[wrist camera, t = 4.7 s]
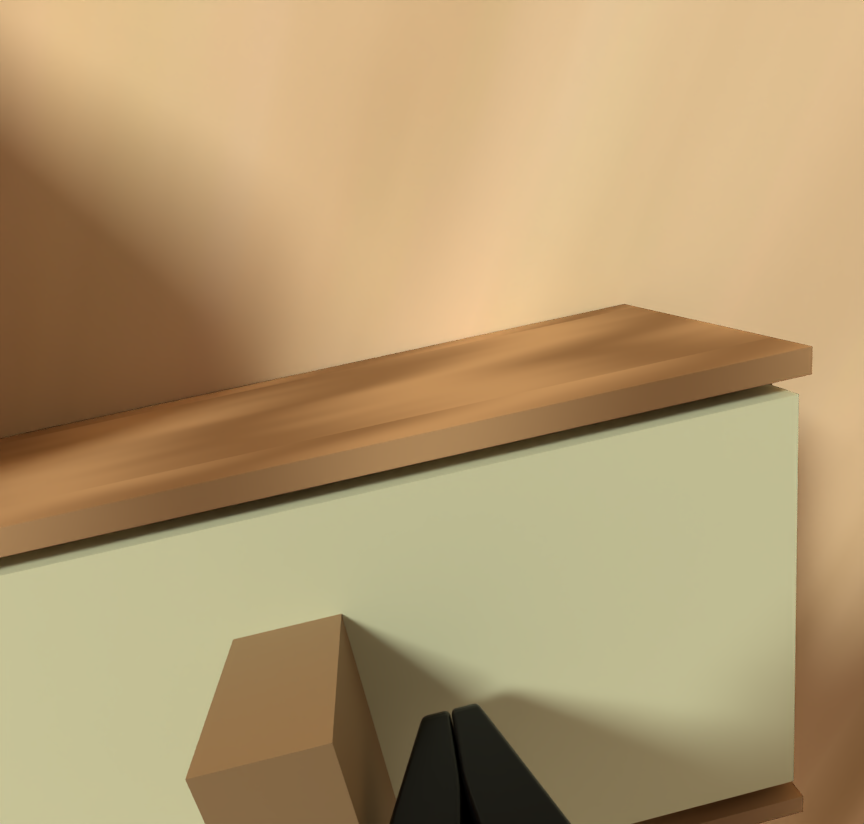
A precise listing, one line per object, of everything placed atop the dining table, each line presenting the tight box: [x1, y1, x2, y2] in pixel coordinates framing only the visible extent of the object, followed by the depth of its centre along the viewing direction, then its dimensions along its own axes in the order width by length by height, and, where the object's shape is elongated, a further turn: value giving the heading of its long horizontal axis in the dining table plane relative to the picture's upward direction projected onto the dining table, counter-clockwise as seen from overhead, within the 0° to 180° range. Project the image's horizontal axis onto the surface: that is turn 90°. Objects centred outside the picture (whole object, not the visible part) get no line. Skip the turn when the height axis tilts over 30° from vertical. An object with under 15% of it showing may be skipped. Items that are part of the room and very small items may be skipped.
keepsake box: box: [0, 304, 812, 824], centre depth 11 cm, size 16×9×6 cm, turn 102°
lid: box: [0, 384, 799, 824], centre depth 8 cm, size 15×8×3 cm, turn 102°
